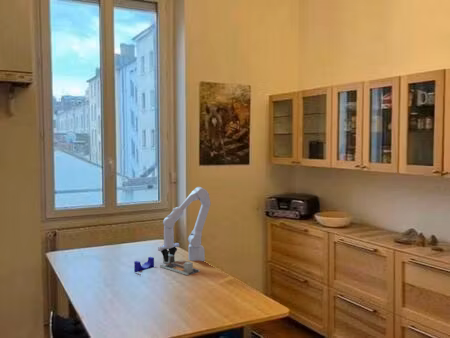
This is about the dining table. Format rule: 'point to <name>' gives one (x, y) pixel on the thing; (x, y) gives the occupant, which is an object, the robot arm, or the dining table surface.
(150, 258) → the cable clip
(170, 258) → the pale grey block
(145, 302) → the dining table surface
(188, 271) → the small hollow grey box
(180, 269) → the rail
